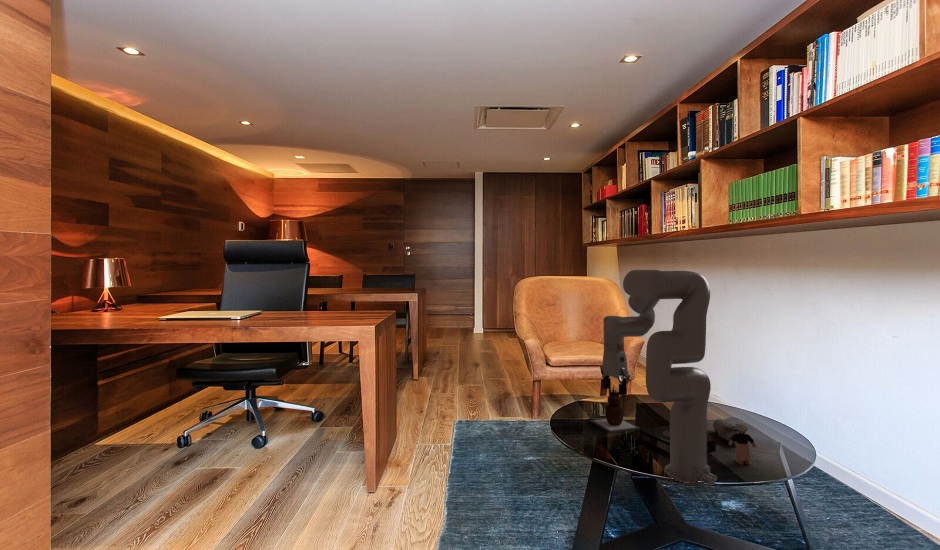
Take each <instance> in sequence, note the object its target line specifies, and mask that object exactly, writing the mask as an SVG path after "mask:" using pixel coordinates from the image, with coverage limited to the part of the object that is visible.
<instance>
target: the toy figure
mask: <svg viewBox="0 0 940 550" xmlns="http://www.w3.org/2000/svg"><path fill="white" fill-rule="evenodd" d="M734 426H735V427H736V429H737V431H738V432H739V433H738V434H734V435H733V436H732V437H731V438H730V441H728V445H729V446H730V445H732V443H733V442H734V443H735V458H736V459H735V460H734V462H735V461H736V462H735V463H737V464H738V463H739V464H738V465H744V464H745V463H746V464H745V465H748V464H749V466H751V465H752V462H751V452H750V445H749V443H750V444H751V446H752V448H756V447H757V445H756V443H755V441H754V438H752V436H751V435H749V434H748V433H747V431H748V430H749V427H748V425H747V423H746V422H744V421H737V422H736V423H735V425H734ZM744 462H745V463H744Z"/></svg>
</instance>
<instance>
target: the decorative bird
mask: <svg viewBox="0 0 940 550" xmlns="http://www.w3.org/2000/svg"><path fill="white" fill-rule="evenodd" d="M712 427H713V429H714V432H715V433H717V434H718V436H719V437H720V438H722V439H723V440H725V441H728V442H730V438H731V437H732V436H733V435H734V434H738V433H739V432H738V431H737V429H736V427H735V425H734V424H733V423H731V422H728V421H727V420H726V421H725V420H723V419H722V418H716V419H715V420H714V421H713V423H712ZM730 447H731V449H733V448H736V445H735V442H733V443H732V445H729V448H730Z"/></svg>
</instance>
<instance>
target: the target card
mask: <svg viewBox="0 0 940 550" xmlns="http://www.w3.org/2000/svg"><path fill="white" fill-rule="evenodd" d="M589 421H590V423H592V424H593V425H595V426H597V427H599V428H601V429H602V430H604V431H605V432H607V433H610V434H613V433H620V432H629V431H636V430H641V429H640V427H639V426H638V425H635V424H633V423H631V422H629V421H627V420H625V419H623V421H622V423H621V424H620V425H611V424H609V423H608V422H607V419H606V417H605V418H598V419H597V418H596V419H591V420H589Z"/></svg>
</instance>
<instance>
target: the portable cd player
mask: <svg viewBox="0 0 940 550" xmlns="http://www.w3.org/2000/svg"><path fill="white" fill-rule="evenodd" d="M639 430H640V431H639V437H638V438H639V441H641V442H643V443H645V444H647V445H649V446H651V447H653V448H655V449H657V450H659V451H661V452H663V453H665V454H667V455H669V456H670V424H669V425H663V426H656V427H652V428H651V427H650V428H643V429H639ZM716 443H717V441H716V440H715V439H713V438H712V437H711V438H710V437H708V436H707V454H708V452H709V453H712V452H713V451H714V452H716V451H717V444H716Z"/></svg>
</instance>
